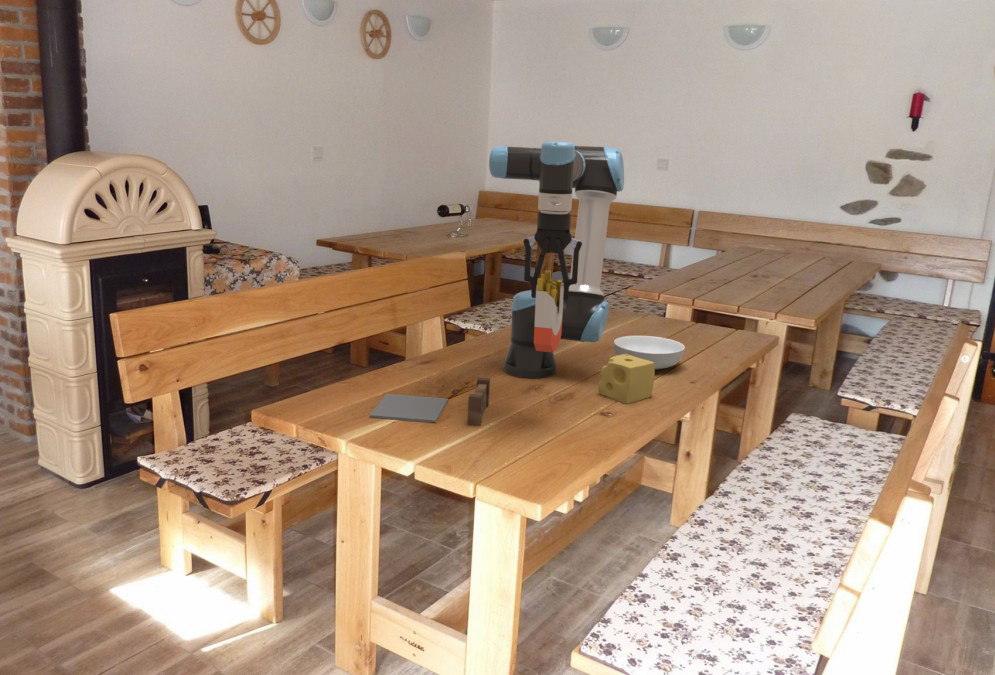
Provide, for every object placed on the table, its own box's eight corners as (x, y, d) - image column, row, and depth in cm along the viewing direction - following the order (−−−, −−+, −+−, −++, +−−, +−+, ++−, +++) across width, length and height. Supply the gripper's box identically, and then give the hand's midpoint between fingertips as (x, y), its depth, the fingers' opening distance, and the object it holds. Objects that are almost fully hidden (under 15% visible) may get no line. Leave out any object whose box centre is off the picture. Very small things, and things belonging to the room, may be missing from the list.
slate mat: (386, 395, 212) (386, 393, 212) (448, 400, 210) (448, 398, 210) (369, 417, 197) (369, 415, 197) (435, 422, 195) (435, 420, 195)
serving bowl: (689, 362, 253) (691, 340, 251) (673, 380, 234) (675, 357, 233) (623, 352, 261) (625, 331, 259) (602, 369, 243) (604, 346, 241)
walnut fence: (477, 403, 209) (478, 377, 207) (488, 404, 209) (490, 378, 207) (467, 424, 195) (468, 396, 193) (480, 425, 194) (481, 397, 193)
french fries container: (562, 344, 200) (566, 270, 195) (552, 355, 190) (556, 278, 185) (544, 342, 201) (547, 268, 196) (532, 353, 191) (536, 276, 186)
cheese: (597, 394, 220) (600, 358, 218) (624, 387, 227) (627, 352, 224) (627, 405, 213) (630, 368, 210) (654, 397, 219) (657, 361, 217)
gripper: (513, 211, 184) (509, 313, 190) (594, 215, 183) (587, 318, 189) (516, 208, 192) (512, 306, 198) (594, 211, 190) (587, 311, 196)
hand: (548, 312), depth 193 cm, fingers closed on french fries container, 5 cm apart
